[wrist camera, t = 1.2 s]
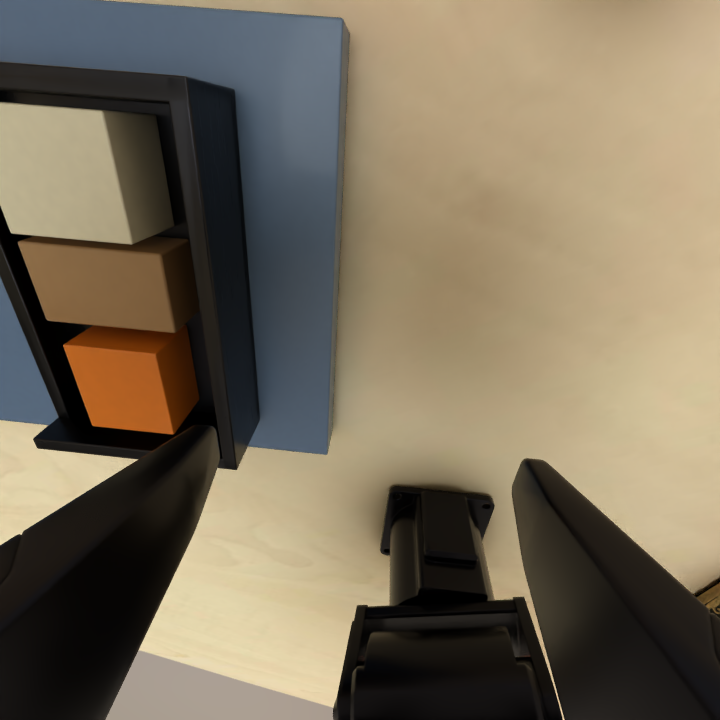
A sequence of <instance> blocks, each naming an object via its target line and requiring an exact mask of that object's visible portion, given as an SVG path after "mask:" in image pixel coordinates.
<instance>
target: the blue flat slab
mask: <svg viewBox="0 0 720 720" xmlns="http://www.w3.org/2000/svg"><path fill="white" fill-rule="evenodd" d="M349 37H350V34H349V31H348V29H347V27H346V24H345V22H344V20H343V19H342V18H338V17H324V16H311V15H297V14H283V13H269V12H255V11H242V10H228V9H214V8H200V7H187V6H173V5H159V4H145V3H132V2H118V1H104V0H0V61H1V62H14V63H27V64H40V65H53V66H65V67H78V68H91V69H104V70H117V71H129V72H142V73H155V74H168V75H181V76H188V77H191V78H195V79H199V80H203V81H207V82H210V83H214V84H218V85H222V86H225V87H229V88H233V89H234V90H235V101H236V116H237V129H238V142H239V155H240V168H241V180H242V193H243V206H244V219H245V232H246V244H247V257H248V270H249V283H250V296H251V308H252V321H253V334H254V347H255V360H256V372H257V385H258V398H259V411H260V421H259V423H258V425H257V427H256V430H255V432H254V434H253V436H252V438H251V440H250V442H249V445H248V446H249V447H258V448H268V449H277V450H286V451H296V452H305V453H315V454H324V455H327V454H328V449H329V444H330V439H331V435H332V426H333V404H334V381H335V358H336V335H337V312H338V289H339V266H340V243H341V220H342V197H343V174H344V151H345V128H346V106H347V83H348V60H349ZM57 418H58V415H57V413H56V410H55V408H54V405H53V403H52V401H51V398H50V396H49V393H48V391H47V389H46V386H45V384H44V381H43V379H42V376H41V374H40V372H39V369H38V367H37V364H36V362H35V360H34V357H33V355H32V352H31V350H30V348H29V345H28V343H27V340H26V338H25V335H24V333H23V331H22V328H21V326H20V323H19V321H18V319H17V316H16V314H15V311H14V309H13V307H12V304H11V302H10V299H9V297H8V295H7V292H6V290H5V287H4V285H3V282H2V280H1V278H0V420H5V421H15V422H24V423H33V424H43V425H50V424H51V423H52V422H53V421H54V420H56V419H57Z"/></svg>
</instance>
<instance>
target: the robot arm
mask: <svg viewBox="0 0 720 720" xmlns="http://www.w3.org/2000/svg"><path fill="white" fill-rule="evenodd" d="M219 459H220V452H219V446H218V439H217V433H216V429H215V428H214V427H213V426H208V425H194V426H192V427H190V428H189V429H187V430H185V431H184V432H182V433H181V434H179V435H177V436H176V437H174V438H172V439H171V440H169V441H168V442H166V443H164V444H163V445H161V446H160V447H158V448H156V449H155V450H153V451H152V452H150V453H148V454H147V455H145V456H144V457H142V458H140V459H139V460H137V461H135V462H134V463H132V464H131V465H129V466H127V467H126V468H124V469H123V470H121V471H119V472H118V473H116V474H115V475H113V476H111V477H110V478H108V479H107V480H105V481H103V482H102V483H100V484H99V485H97V486H95V487H94V488H92V489H90V490H89V491H87V492H86V493H84V494H82V495H81V496H79V497H78V498H76V499H74V500H73V501H71V502H70V503H68V504H66V505H65V506H63V507H62V508H60V509H58V510H57V511H55V512H54V513H52V514H50V515H49V516H47V517H45V518H44V519H42V520H41V521H39V522H37V523H36V524H34V525H33V526H31V527H29V528H28V529H26V530H25V531H23V533H22V535H20V534H19V535H16V536H15V537H13V538H11V539H10V540H8V541H7V542H5V543H3V544H2V545H0V720H105V719H106V717H107V715H108V713H109V711H110V708H111V707H112V705H113V702H114V700H115V698H116V696H117V694H118V692H119V690H120V688H121V686H122V684H123V681H124V679H125V677H126V675H127V673H128V671H129V669H130V667H131V665H132V662H133V660H134V658H135V656H136V654H137V652H138V650H139V648H140V646H141V644H142V641H143V639H144V637H145V635H146V633H147V631H148V629H149V627H150V625H151V623H152V620H153V618H154V616H155V614H156V612H157V610H158V608H159V606H160V604H161V601H162V599H163V597H164V595H165V593H166V591H167V589H168V587H169V585H170V583H171V580H172V578H173V576H174V574H175V572H176V570H177V568H178V566H179V564H180V561H181V559H182V557H183V555H184V553H185V551H186V549H187V547H188V545H189V543H190V540H191V538H192V536H193V534H194V531H195V529H196V527H197V524H198V521H199V519H200V516H201V513H202V510H203V507H204V504H205V502H206V499H207V496H208V493H209V490H210V487H211V484H212V481H213V479H214V476H215V473H216V470H217V467H218V464H219ZM396 494H397V495H396ZM512 498H513V505H514V511H515V517H516V524H517V530H518V537H519V543H520V549H521V555H522V561H523V566H524V570H525V574H526V578H527V582H528V586H529V589H530V593H531V597H532V601H533V604H534V608H535V612H536V615H537V619H538V623H539V626H540V630H541V634H542V637H543V641H544V645H545V649H546V652H547V656H548V660H549V663H550V667H551V671H552V674H553V678H554V682H555V686H556V689H557V693H558V697H559V700H560V704H561V708H562V711H563V715H564V719H565V720H720V618H719V617H718V616H716V615H715V614H713V613H710V611H709V609H708V608H707V607H706V606H705V605H704V604H703V603H702V602H701V601H700V600H698V599H697V598H696V597H695V596H694V595H693V594H692V593H691V592H690V591H689V590H687V589H686V588H685V587H684V586H683V585H682V584H681V583H680V582H679V581H677V580H676V579H675V578H674V577H673V576H672V575H671V574H670V573H669V572H667V571H666V570H665V569H664V568H663V567H662V566H661V565H660V564H659V563H658V562H656V561H655V560H654V559H653V558H652V557H651V556H650V555H649V554H648V553H646V552H645V551H644V550H643V549H642V548H641V547H640V546H639V545H638V544H636V543H635V542H634V541H633V540H632V539H631V538H630V537H629V536H628V535H627V534H625V533H624V532H623V531H622V530H621V529H620V528H619V527H618V526H617V525H615V524H614V523H613V522H612V521H611V520H610V519H609V518H608V517H607V516H605V515H604V514H603V513H602V512H601V511H600V510H599V509H598V508H597V507H596V506H594V505H593V504H592V503H591V502H590V501H589V500H588V499H587V498H586V497H584V496H583V495H582V494H581V493H580V492H579V491H578V490H577V489H576V488H574V487H573V486H572V485H571V484H570V483H569V482H568V481H567V480H566V479H565V478H563V477H562V476H561V475H560V474H559V473H558V472H557V471H556V470H555V469H553V468H552V467H551V466H550V465H549V464H548V463H547V462H545V461H544V460H539V459H529V458H526V459H524V460H523V461H522V462H521V464H520V467H519V469H518V472H517V475H516V477H515V480H514V482H513V486H512ZM493 510H494V502H493V499H492V498H491V497H489V496H483V495H474V494H465V493H456V492H447V491H437V490H428V489H419V488H410V487H401V486H394V487H392V488H390V490H389V494H388V500H387V506H386V513H385V519H384V526H383V532H382V538H381V545H380V551H381V553H382V554H384V555H389V556H390V606H371V607H368V605H357V609H356V614H355V619H354V621H353V622H352V626H351V631H350V635H349V640H348V645H347V650H346V655H345V660H344V665H343V670H342V675H341V680H340V685H339V690H338V695H337V698H336V701H335V704H334V708H333V720H563V719H562V715H561V711H560V708H559V704H558V700H557V696H556V693H555V689H554V686H553V683H552V680H551V676H550V673H549V670H548V667H547V664H546V661H545V658H544V655H543V652H542V649H541V646H540V643H539V640H538V637H537V634H536V631H535V628H534V625H533V622H532V619H531V616H530V613H529V610H528V607H527V604H526V601H525V598H524V597H513V599H510V600H494V596H493V591H492V586H491V582H490V577H489V572H488V567H487V563H486V558H485V553H484V549H483V544H482V539H483V537H484V534H485V531H486V529H487V526H488V523H489V520H490V518H491V515H492V512H493Z"/></svg>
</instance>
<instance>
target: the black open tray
mask: <svg viewBox="0 0 720 720" xmlns="http://www.w3.org/2000/svg"><path fill="white" fill-rule="evenodd" d="M0 278H1V280H2V282H3V285H4V287H5V290H6V292H7V295H8V297H9V299H10V302H11V304H12V307H13V309H14V311H15V314H16V316H17V319H18V321H19V323H20V326H21V328H22V331H23V333H24V335H25V338H26V340H27V343H28V345H29V348H30V350H31V352H32V355H33V357H34V360H35V362H36V364H37V367H38V369H39V372H40V374H41V376H42V379H43V381H44V384H45V386H46V389H47V391H48V393H49V396H50V398H51V401H52V403H53V405H54V408H55V410H56V413H57V415H58V418H57V419H56V420H54V421H53V422H52V423H51V424H50V425H49V426H47V427H46V428H45V429H44V430H43V431H42V432H40V433H39V434H38V435H37V436H36V437H35V438H34V439H33V440H34V442H35V445H36V447H37V448H38V449H48V450H57V451H66V452H75V453H84V454H94V455H103V456H112V457H121V458H130V459H140V458H142V457H144V456H145V455H147V454H148V453H150V452H152V451H153V450H155V449H156V448H158V447H160V446H161V445H163V444H164V443H166V442H168V441H169V440H171V439H172V438H174V437H176V436H177V435H179V434H181V433H182V432H184V431H185V430H187V429H189V428H190V427H192V426H194V425H208V426H213V427H214V428H215V429H216V433H217V439H218V446H219V452H220V459H219V464H218V467H217V468H223V469H232V470H237V468H238V466H239V464H240V462H241V460H242V457H243V455H244V453H245V451H246V449H247V447H248V445H249V442H250V440H251V438H252V436H253V434H254V432H255V430H256V427H257V425H258V423H259V421H260V411H259V398H258V385H257V372H256V360H255V347H254V334H253V321H252V308H251V296H250V283H249V270H248V257H247V244H246V232H245V219H244V206H243V193H242V180H241V168H240V155H239V142H238V129H237V116H236V101H235V90H234V89H233V88H229V87H225V86H222V85H218V84H214V83H210V82H207V81H203V80H199V79H195V78H191V77H188V76H181V75H168V74H155V73H142V72H129V71H117V70H104V69H91V68H78V67H65V66H53V65H40V64H27V63H14V62H1V61H0Z"/></svg>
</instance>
